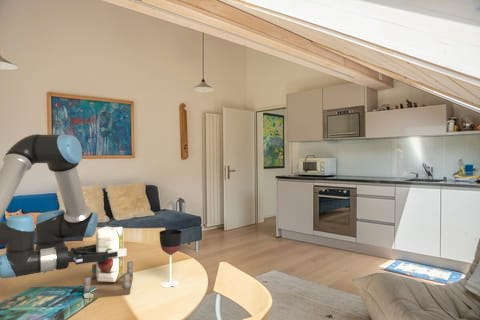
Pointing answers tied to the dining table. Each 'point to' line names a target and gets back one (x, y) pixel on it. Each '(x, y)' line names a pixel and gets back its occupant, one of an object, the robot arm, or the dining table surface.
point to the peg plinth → (109, 284)
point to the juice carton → (104, 242)
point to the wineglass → (170, 249)
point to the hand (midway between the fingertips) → (122, 248)
